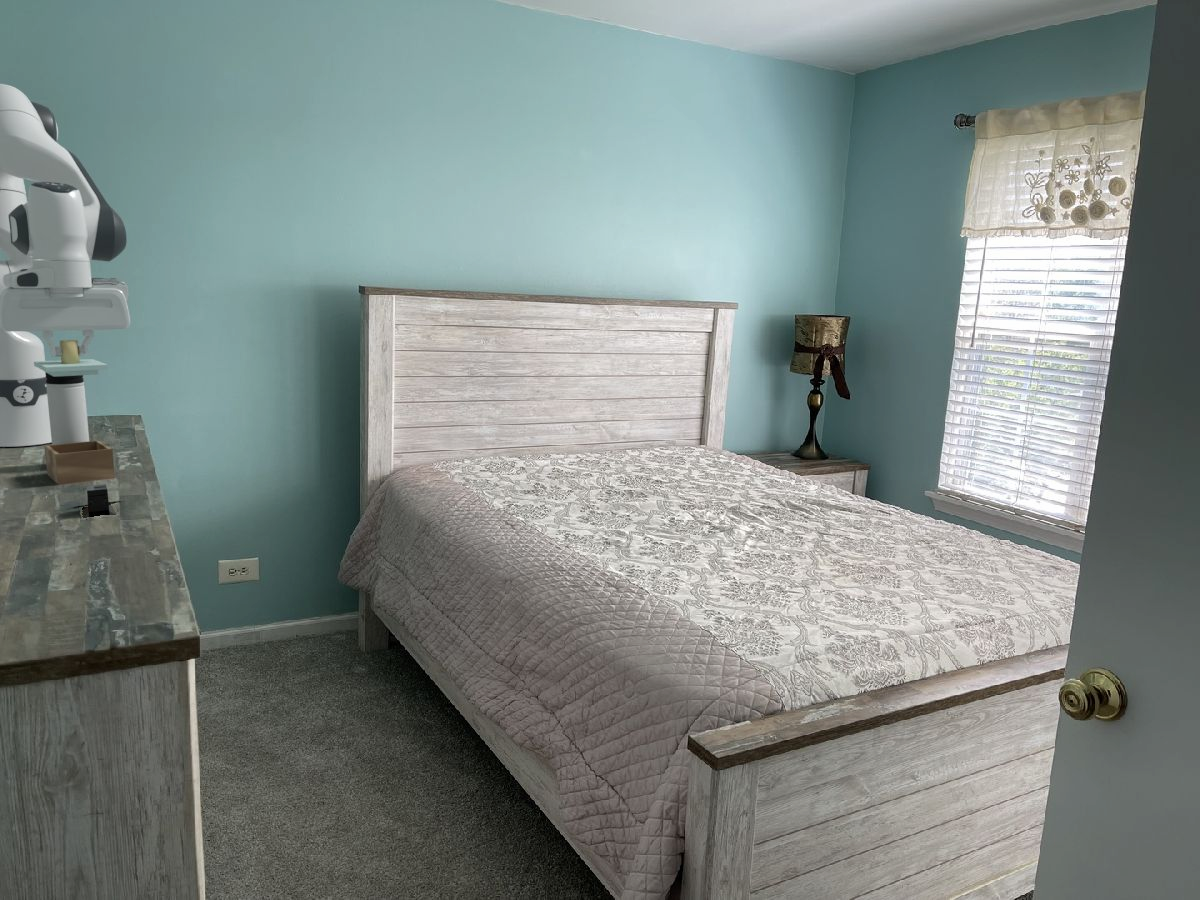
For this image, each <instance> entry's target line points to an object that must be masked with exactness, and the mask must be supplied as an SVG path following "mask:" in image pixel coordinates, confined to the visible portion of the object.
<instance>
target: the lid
mask: <svg viewBox="0 0 1200 900" xmlns="http://www.w3.org/2000/svg"><path fill="white" fill-rule="evenodd" d="M78 345H79V342H78V340H77V339H71V340H70V339H64V340H59V346H61V349H62V350H61V352H62V356H60V360H45V361H34V366H35V367H37V368H39V369H41V370H43V371H45V372H46V373H48V374H50V375H52V376H54V377H56V376H76V375H83V376H92V375H93V376H94V375H99V371H100V370H108V369H109V365H108V364H107V363H105V362H101V361H99V360H96V359H94V358H91V359H89V358H88V359H80V356H79V351H78Z"/></svg>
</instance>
